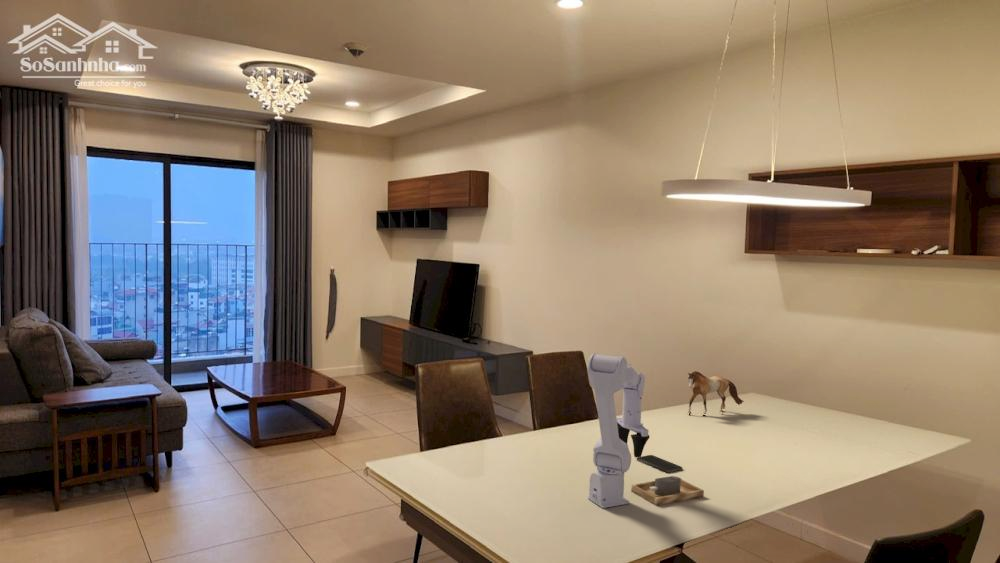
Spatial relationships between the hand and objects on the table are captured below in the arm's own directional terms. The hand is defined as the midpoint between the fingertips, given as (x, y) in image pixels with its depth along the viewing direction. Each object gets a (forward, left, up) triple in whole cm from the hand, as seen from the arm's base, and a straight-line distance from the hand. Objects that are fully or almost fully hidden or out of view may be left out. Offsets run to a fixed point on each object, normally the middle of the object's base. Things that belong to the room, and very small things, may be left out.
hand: (630, 453), depth 195 cm
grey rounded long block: (+5, -12, -9) cm, 16 cm away
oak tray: (+5, -12, -9) cm, 16 cm away
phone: (+20, +10, -10) cm, 24 cm away
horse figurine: (+88, +54, -10) cm, 104 cm away
